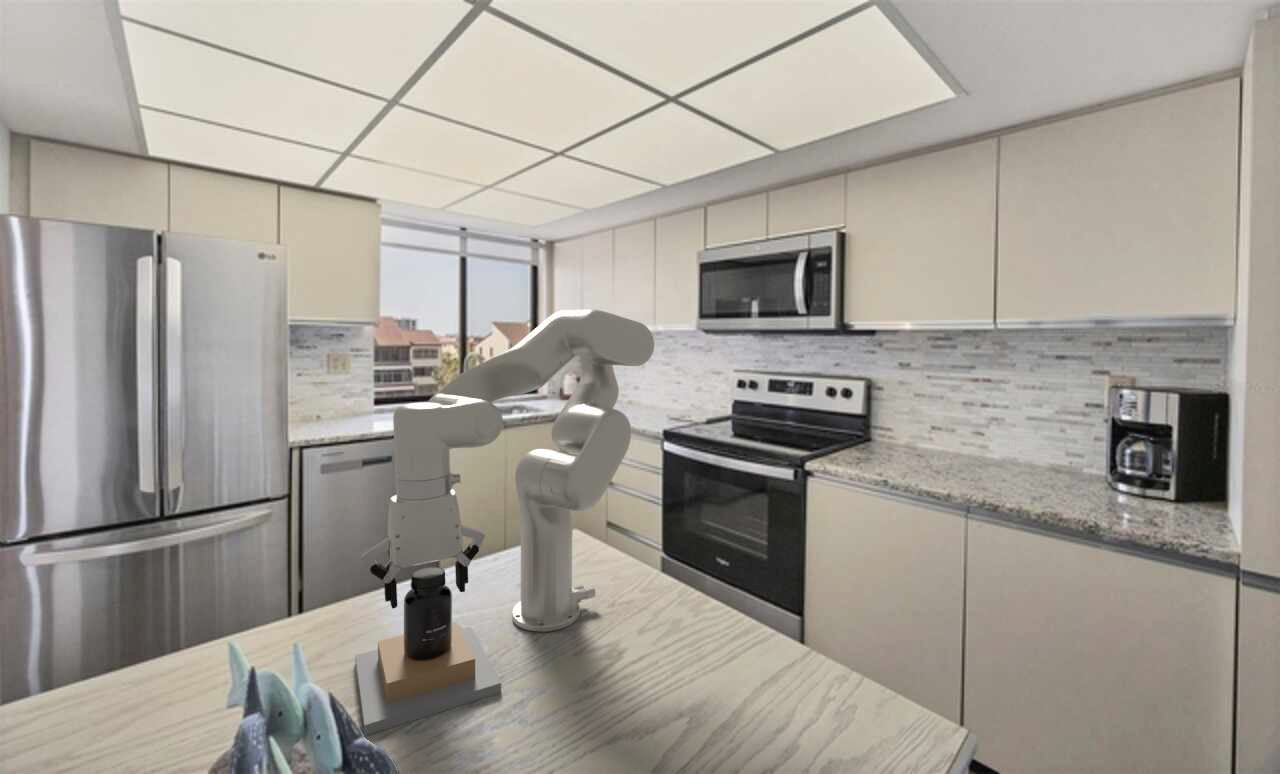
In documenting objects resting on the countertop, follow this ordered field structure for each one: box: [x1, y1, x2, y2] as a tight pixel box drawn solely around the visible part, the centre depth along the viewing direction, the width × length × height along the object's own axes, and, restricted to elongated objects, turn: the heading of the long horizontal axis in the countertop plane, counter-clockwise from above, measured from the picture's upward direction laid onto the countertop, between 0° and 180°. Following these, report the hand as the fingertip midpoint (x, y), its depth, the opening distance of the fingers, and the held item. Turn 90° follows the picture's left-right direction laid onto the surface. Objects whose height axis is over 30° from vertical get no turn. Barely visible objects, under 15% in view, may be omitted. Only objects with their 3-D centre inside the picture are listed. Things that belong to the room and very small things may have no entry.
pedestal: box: [354, 621, 502, 737], centre depth 83 cm, size 18×18×4 cm
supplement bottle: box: [403, 566, 453, 660], centre depth 83 cm, size 7×7×12 cm
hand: (427, 596), depth 83 cm, fingers open, 9 cm apart
